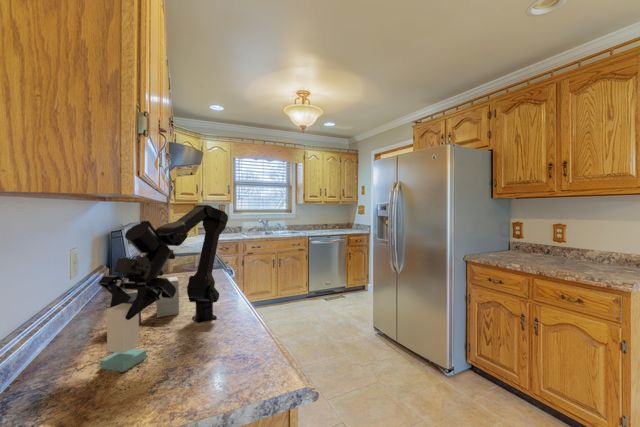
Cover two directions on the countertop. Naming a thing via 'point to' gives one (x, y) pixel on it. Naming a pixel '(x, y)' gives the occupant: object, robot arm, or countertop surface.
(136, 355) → the teal square slab
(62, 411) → the countertop surface
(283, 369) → the countertop surface
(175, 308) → the supplement box
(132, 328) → the cream column
